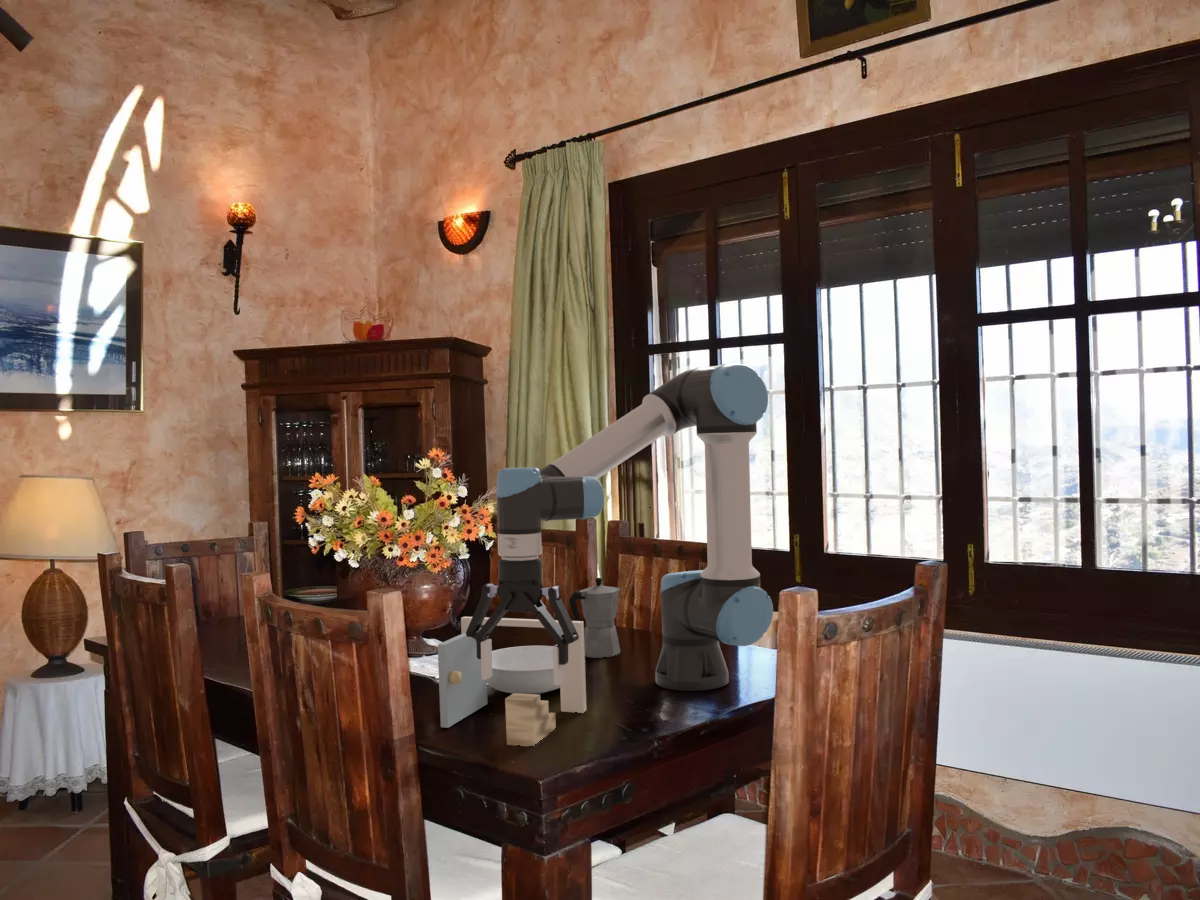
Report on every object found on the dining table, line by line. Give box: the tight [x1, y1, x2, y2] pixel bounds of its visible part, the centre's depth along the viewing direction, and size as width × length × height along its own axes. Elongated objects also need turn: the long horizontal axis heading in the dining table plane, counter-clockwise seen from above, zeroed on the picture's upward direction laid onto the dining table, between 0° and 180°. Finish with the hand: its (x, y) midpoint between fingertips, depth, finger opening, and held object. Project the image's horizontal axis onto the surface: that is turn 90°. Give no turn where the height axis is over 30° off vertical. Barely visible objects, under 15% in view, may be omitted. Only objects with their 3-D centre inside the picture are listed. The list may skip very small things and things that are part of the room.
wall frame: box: [460, 616, 587, 714], centre depth 188 cm, size 25×2×17 cm, turn 70°
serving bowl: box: [487, 645, 560, 695], centre depth 201 cm, size 21×21×7 cm
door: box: [437, 626, 488, 729], centre depth 183 cm, size 16×3×15 cm, turn 160°
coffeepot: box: [568, 577, 622, 659], centre depth 230 cm, size 15×9×18 cm, turn 129°
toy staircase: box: [504, 693, 557, 747], centre depth 170 cm, size 10×5×8 cm, turn 161°
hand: (522, 680), depth 168 cm, fingers open, 13 cm apart
